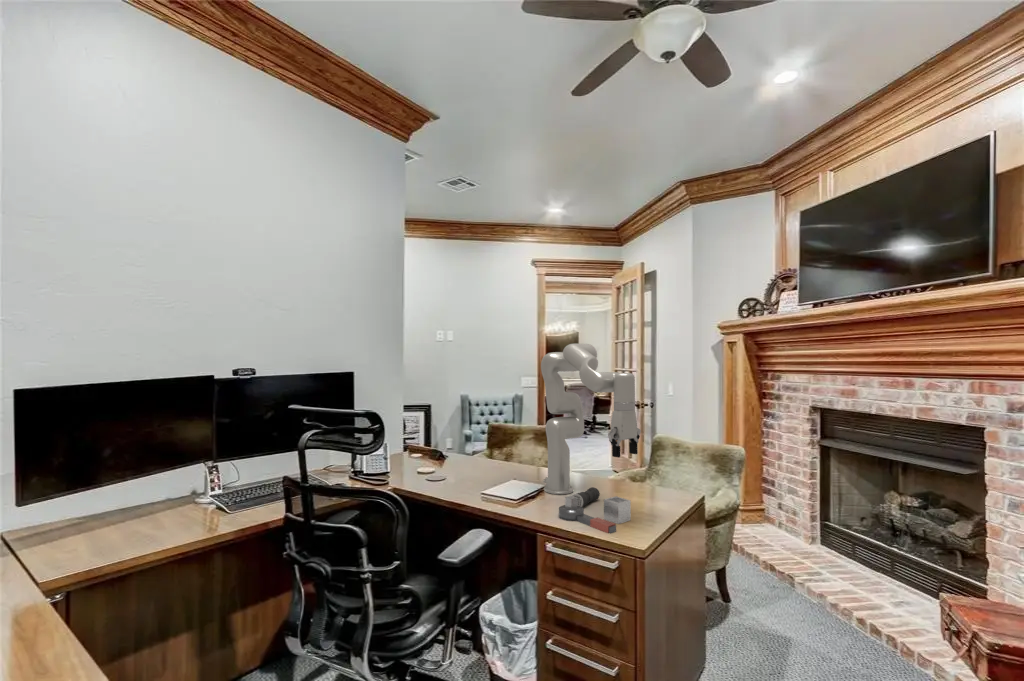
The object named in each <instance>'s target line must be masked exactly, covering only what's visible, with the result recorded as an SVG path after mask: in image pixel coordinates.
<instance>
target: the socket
mask: <svg viewBox="0 0 1024 681" xmlns="http://www.w3.org/2000/svg"><path fill="white" fill-rule="evenodd" d="M631 503H632V502H631V500H630V499H627V498H624V497H619V496H612V497H608V498H604V499H603V519H604V520H606V521H609V522H612V523H615V525H621V524H623V523H626V522H629V521H631V516H632V515H631V510H632V507H631Z"/></svg>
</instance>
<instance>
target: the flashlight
mask: <svg viewBox="0 0 1024 681" xmlns="http://www.w3.org/2000/svg"><path fill="white" fill-rule="evenodd" d="M600 495H601V494H600V490H599V489H598V488H596V487H589V488H588V489H587V490H584V491H580V492H576V493H573V494H572V495H571V496H573V497H577V506H580V507H583V508H584V507H585V506H586V505H588V504H589V503H590V502H595V501H597V500H599V498H600Z"/></svg>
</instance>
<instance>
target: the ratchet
mask: <svg viewBox="0 0 1024 681" xmlns="http://www.w3.org/2000/svg"><path fill="white" fill-rule="evenodd" d="M564 501H565V503H564V505H560V506H559V507H558V518H559V519H561V520H563V521H568V522H577V523H580V524H584V525H586V526H589V527H591V528H593V529H596V530H599V531H601V532H603V533H606V534H609V533H610V534H613V533H616V532H617V524H616V523H614V522H611V521H608V520H605V519H604V518H601V517H594V516H590V515H587V514H586V513H585V508H584V507H580V506H577V497H573V496H572V495H569V496H566V497H565V499H564Z"/></svg>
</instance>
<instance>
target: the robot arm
mask: <svg viewBox="0 0 1024 681" xmlns="http://www.w3.org/2000/svg"><path fill="white" fill-rule="evenodd" d="M597 357H598V353H597V349H596V348H595V346H593V344H590V343H569V344H567V345H566V346H565V347H564V348H563V350H562V351H555V352H554V351H553V352H547V353H546V354H544V356H543V357H542V359H541V361H540V362H541V363H540V371H541V376H542V378H543V381H544V389H545V399H546V407H547V411H548V412H549V413H550V414H552V415H567V416H559V417H553V418H550V419H548V420H547V421H546V423H545V435H546V441H547V442H546V443H547V477H545V479H543V480H542V482H543V483H545V486H544V487H543V490H544V492H545V493H547V494H551V495H568V494H571V493H573V492H574V487H573V486H571V485H570V484H571V482H570V479H571V477H570V476H571V475H570V474H571V473H570V471H571V469H570V467H571V466H570V463H571V461H570V460H571V459H570V456H571V451H570V447H569V445H568V443H567V442H566V440H568V439H569V440H570V439H579V438H580V437H582V436H583V435H584V432H585V420H584V418H585V417H584V411H583V409H584V408H583V403H582V399H581V396H580V395H579V394H578V393H576V392H575V391H568V392H567V391H566V389H565V388H566V387H565V382H564V379H563V378H562V376H561V375H560V374H559V373H558V372H566V373H567V372H577V371H578V372H579V379H580V381H581V383H582V385H584V386H585V387H586V388H587V389H589V391H592V392H595V393H597V394H598V393H613V411H612V413H611V419H610V431H609V432H608V433H607V437H608V441H609V443H610V446H611V453H612V454H611V455H612V457H614V458H617V459H618V458H621V446H620V444H621V442H622V441H626V440H627V441H628V440H629V443H628V444H629V445H628V446H629V448H628V450H629V454H631V455H632V454H633V455H638V453H639V452H638V443H639V439H640V435H641V432H642V430H641V429H640V428H638V421H637V419H638V418H637V412H636V379H635V378H636V377H635V374H634V373H630V372H617V371H599V372H598V371H596V370H597V368H598V367H599V366H598V365H599V361H598V359H597Z"/></svg>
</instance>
